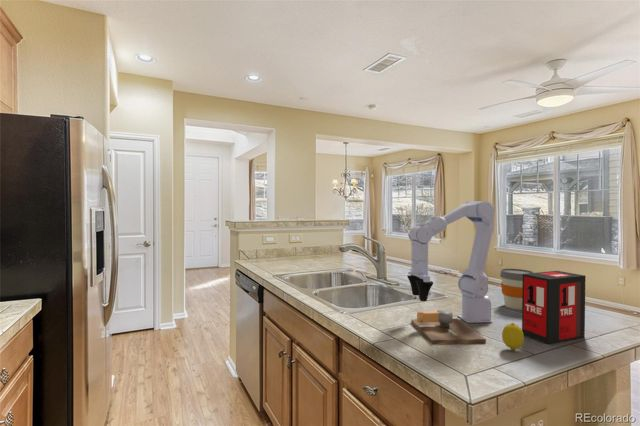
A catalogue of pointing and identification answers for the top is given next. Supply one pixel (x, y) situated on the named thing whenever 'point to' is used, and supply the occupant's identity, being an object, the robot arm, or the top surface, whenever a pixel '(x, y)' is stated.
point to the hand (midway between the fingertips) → (419, 297)
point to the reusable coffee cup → (512, 287)
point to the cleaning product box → (553, 306)
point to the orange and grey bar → (435, 316)
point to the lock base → (448, 332)
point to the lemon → (513, 336)
